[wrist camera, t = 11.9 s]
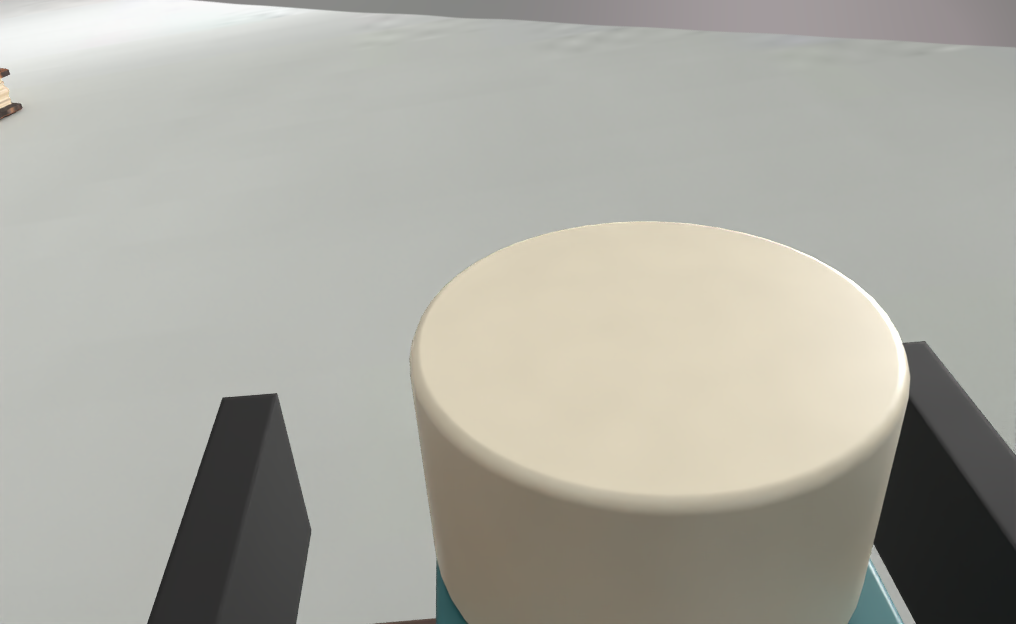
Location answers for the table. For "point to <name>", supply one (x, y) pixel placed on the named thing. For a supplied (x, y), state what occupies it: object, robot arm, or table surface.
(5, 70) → the hardcover book
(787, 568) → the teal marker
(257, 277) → the table surface
